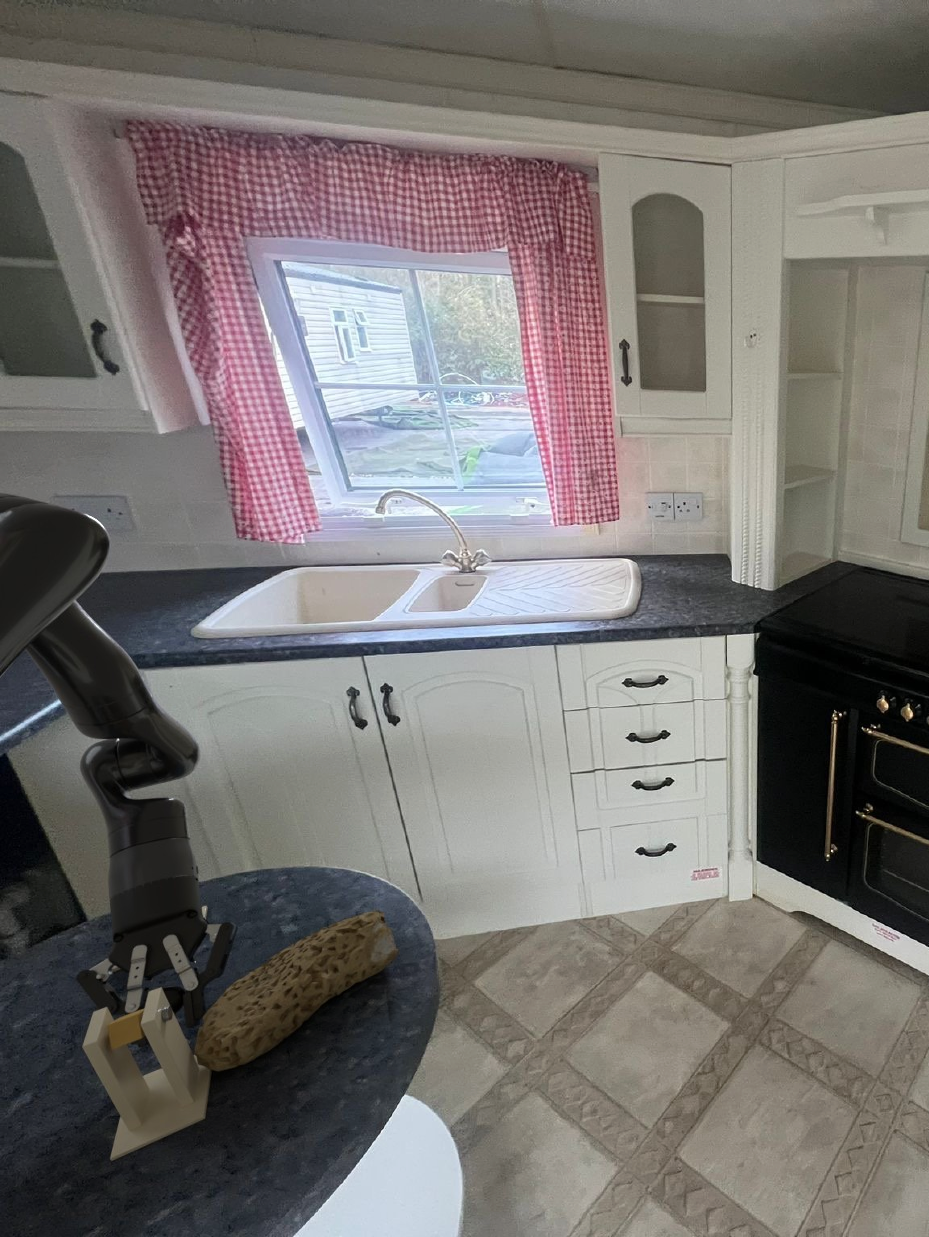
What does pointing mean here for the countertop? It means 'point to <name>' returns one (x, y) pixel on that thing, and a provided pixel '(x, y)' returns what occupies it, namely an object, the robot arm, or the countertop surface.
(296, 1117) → the countertop surface
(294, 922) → the countertop surface
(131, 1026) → the lever
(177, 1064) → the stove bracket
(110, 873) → the robot arm
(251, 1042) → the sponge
